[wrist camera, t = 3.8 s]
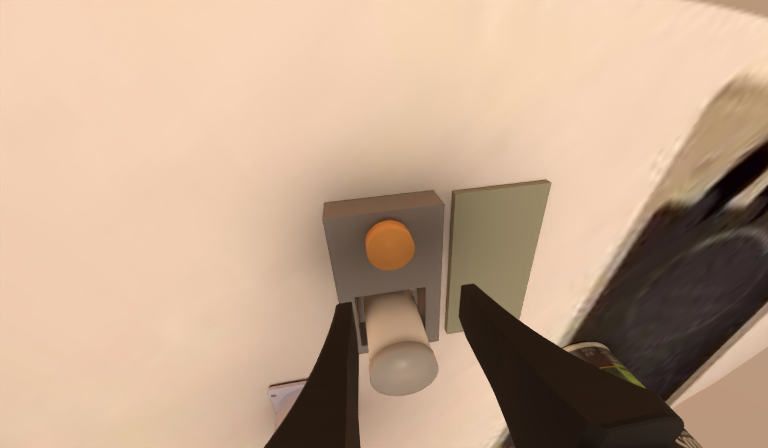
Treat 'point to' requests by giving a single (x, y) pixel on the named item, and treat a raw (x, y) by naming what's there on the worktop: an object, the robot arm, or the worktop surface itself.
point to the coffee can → (606, 361)
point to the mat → (494, 243)
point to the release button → (389, 245)
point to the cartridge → (397, 344)
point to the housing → (361, 278)
